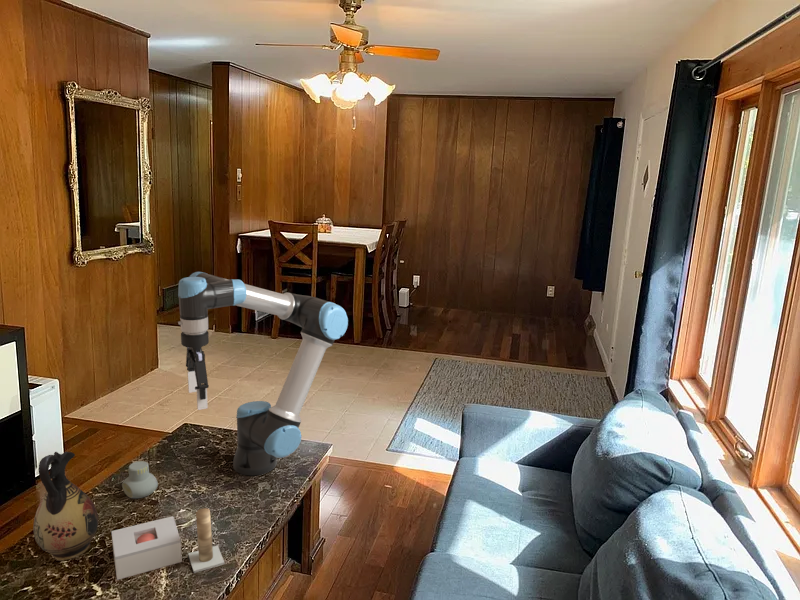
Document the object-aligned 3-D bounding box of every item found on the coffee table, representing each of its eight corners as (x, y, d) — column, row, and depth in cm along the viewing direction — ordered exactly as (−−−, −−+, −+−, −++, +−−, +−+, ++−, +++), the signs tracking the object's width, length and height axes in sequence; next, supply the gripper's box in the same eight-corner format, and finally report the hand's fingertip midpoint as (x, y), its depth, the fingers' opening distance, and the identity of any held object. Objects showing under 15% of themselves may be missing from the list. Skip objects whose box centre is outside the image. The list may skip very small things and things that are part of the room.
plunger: (154, 547, 167) (153, 531, 165) (156, 556, 163) (155, 540, 162) (137, 552, 164) (136, 536, 163) (139, 561, 161) (138, 545, 160)
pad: (217, 547, 169) (217, 545, 169) (224, 564, 162) (224, 562, 162) (188, 555, 165) (188, 553, 165) (193, 573, 159) (193, 571, 158)
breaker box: (174, 536, 173) (173, 516, 171) (181, 561, 163) (180, 539, 161) (113, 552, 165) (111, 531, 163) (117, 579, 155) (115, 557, 153)
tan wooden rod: (211, 551, 166) (208, 506, 163) (214, 559, 163) (211, 513, 160) (197, 555, 164) (194, 510, 161) (200, 563, 161) (197, 517, 158)
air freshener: (120, 491, 194) (117, 463, 192) (144, 481, 200) (142, 454, 198) (136, 505, 187) (133, 476, 185) (161, 494, 193) (159, 466, 191)
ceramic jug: (58, 531, 173) (47, 436, 166) (110, 533, 173) (102, 439, 166) (19, 571, 157) (5, 467, 150) (78, 574, 157) (66, 471, 149)
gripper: (173, 321, 181) (177, 387, 186) (189, 345, 160) (192, 418, 165) (199, 318, 184) (202, 383, 189) (217, 342, 163) (220, 414, 168)
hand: (197, 400), depth 177 cm, fingers open, 13 cm apart
